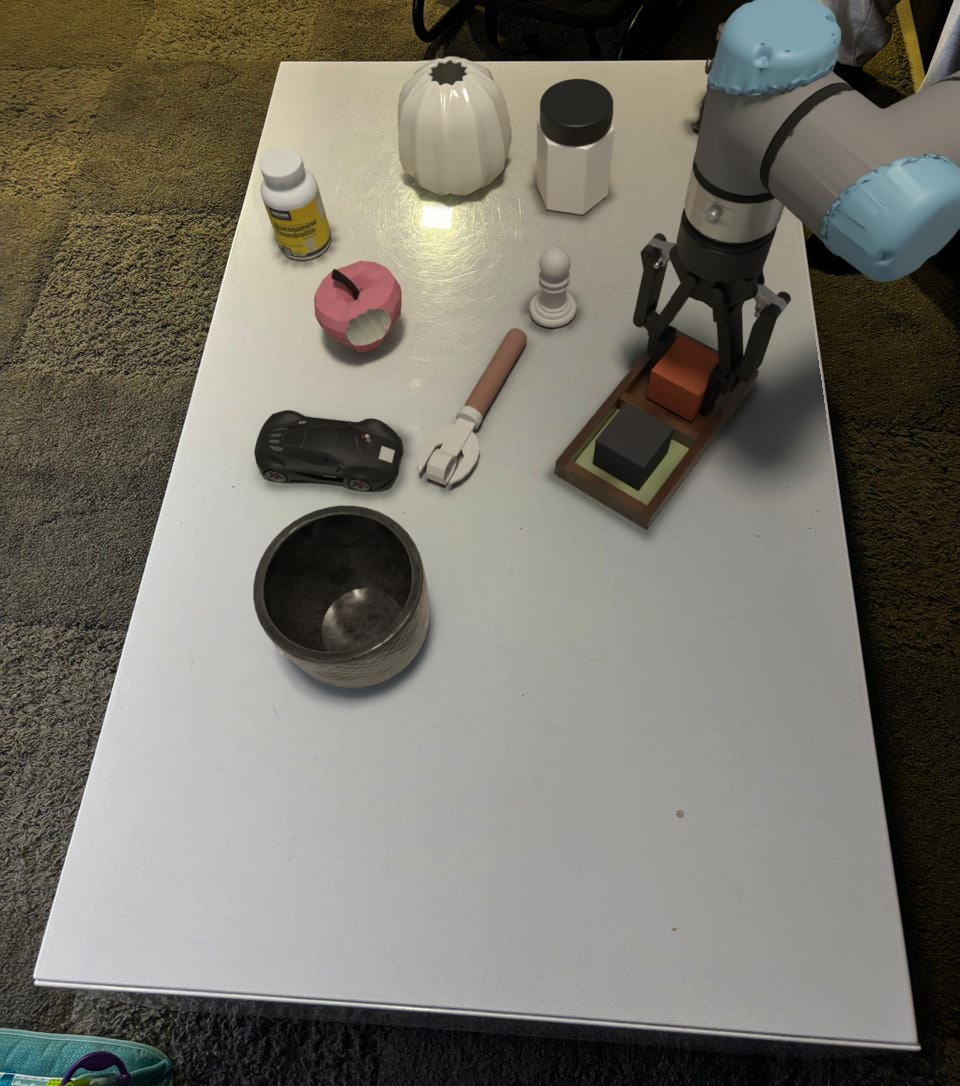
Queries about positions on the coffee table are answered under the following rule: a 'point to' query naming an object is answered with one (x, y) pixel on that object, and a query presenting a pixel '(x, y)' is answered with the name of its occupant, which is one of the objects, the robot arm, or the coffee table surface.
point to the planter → (344, 595)
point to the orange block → (682, 377)
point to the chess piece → (553, 290)
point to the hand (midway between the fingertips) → (682, 389)
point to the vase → (453, 126)
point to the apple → (358, 304)
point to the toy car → (328, 451)
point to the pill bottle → (294, 204)
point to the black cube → (632, 446)
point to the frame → (675, 465)
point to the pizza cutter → (469, 419)
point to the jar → (574, 145)
